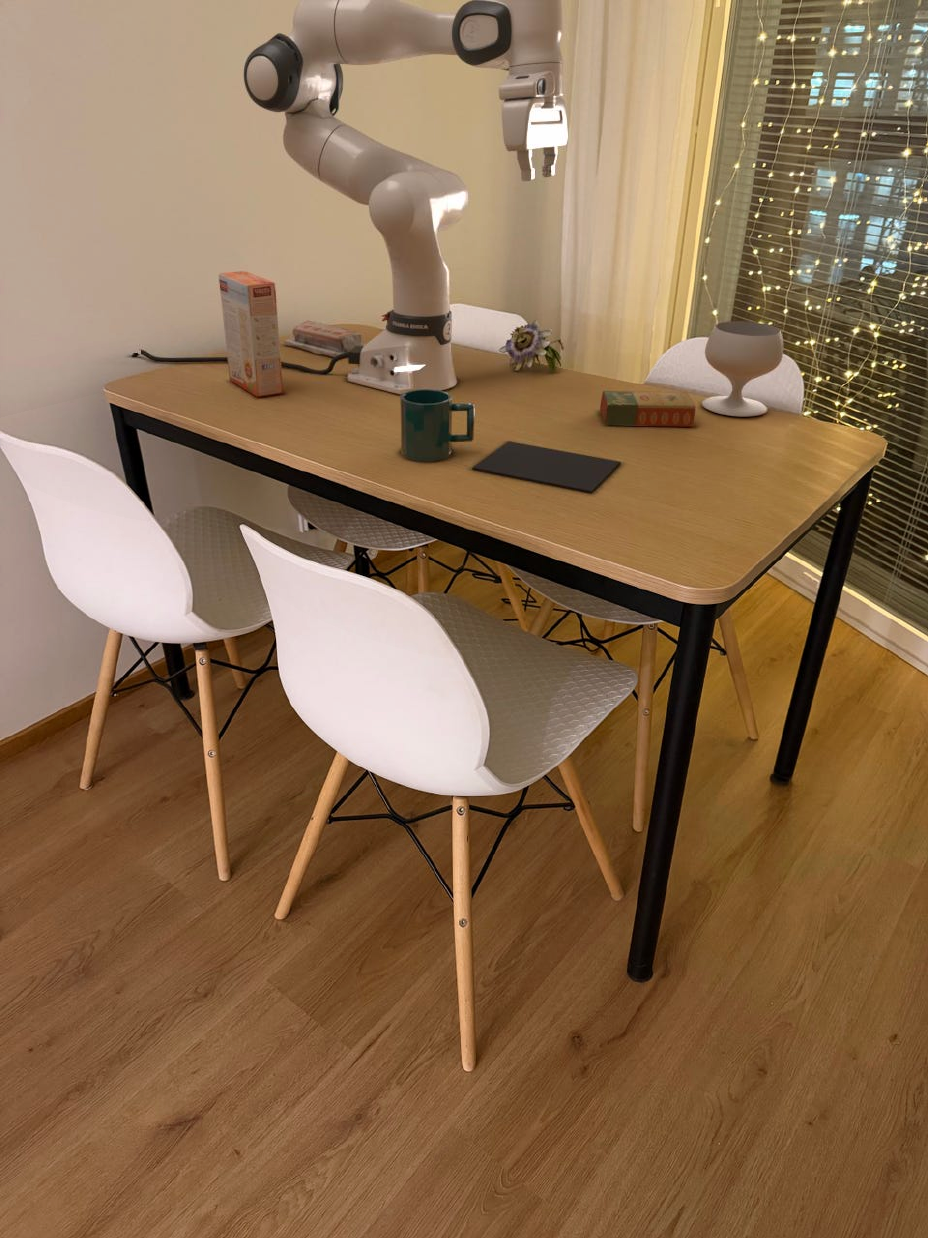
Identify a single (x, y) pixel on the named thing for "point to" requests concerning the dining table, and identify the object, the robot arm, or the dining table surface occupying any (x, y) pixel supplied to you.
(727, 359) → the chalice
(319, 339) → the packaged product
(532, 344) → the passion flower
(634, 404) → the carton
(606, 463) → the placemat
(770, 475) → the dining table surface
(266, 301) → the cracker box
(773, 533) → the dining table surface
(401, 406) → the mug
